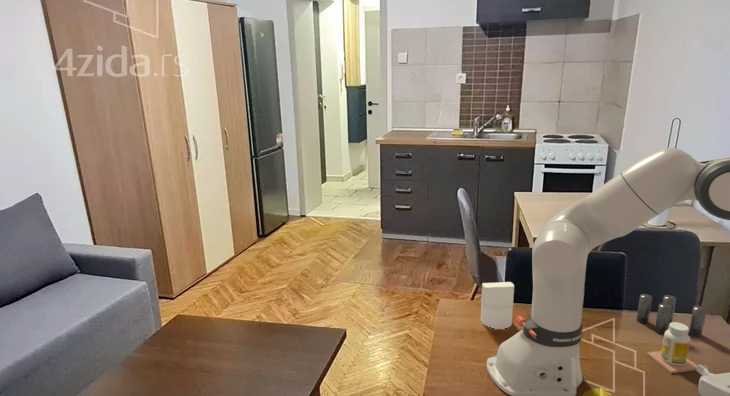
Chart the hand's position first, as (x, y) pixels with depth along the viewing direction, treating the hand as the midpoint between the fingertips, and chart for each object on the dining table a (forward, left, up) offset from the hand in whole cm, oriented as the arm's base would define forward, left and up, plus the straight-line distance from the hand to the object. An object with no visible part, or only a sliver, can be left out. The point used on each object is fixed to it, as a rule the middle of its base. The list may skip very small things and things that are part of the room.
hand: (717, 364), depth 103 cm
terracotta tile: (0, +11, -7) cm, 13 cm away
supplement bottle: (0, +11, -7) cm, 13 cm away
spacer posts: (+11, +26, -7) cm, 29 cm away
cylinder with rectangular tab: (-35, +38, -7) cm, 53 cm away
